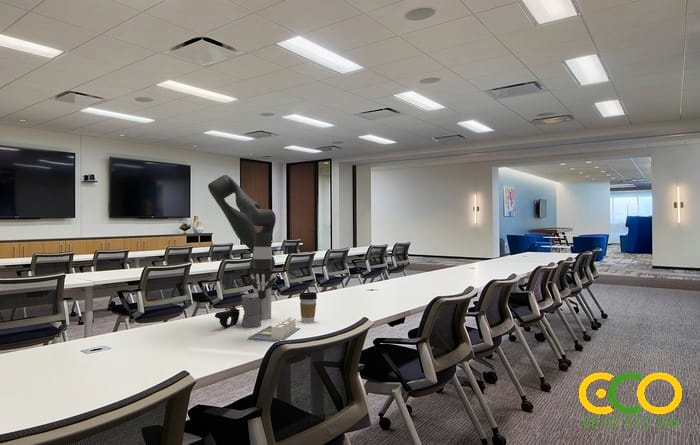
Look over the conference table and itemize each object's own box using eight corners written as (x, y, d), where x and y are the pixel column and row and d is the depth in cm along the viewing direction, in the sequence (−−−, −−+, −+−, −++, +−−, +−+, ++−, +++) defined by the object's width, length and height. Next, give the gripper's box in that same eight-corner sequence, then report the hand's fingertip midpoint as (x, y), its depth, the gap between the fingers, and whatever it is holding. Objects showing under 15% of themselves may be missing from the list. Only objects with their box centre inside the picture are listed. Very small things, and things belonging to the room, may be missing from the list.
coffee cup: (315, 326, 209) (316, 294, 209) (297, 325, 209) (298, 294, 209) (317, 322, 217) (317, 291, 217) (300, 321, 217) (300, 291, 217)
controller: (241, 326, 206) (241, 305, 206) (219, 331, 195) (219, 309, 195) (235, 325, 208) (235, 303, 208) (213, 330, 198) (213, 307, 198)
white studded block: (283, 331, 193) (283, 318, 193) (286, 329, 197) (287, 316, 197) (292, 332, 192) (292, 319, 192) (295, 329, 196) (295, 317, 196)
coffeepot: (261, 331, 196) (261, 291, 196) (239, 332, 195) (239, 291, 195) (263, 323, 212) (263, 286, 212) (242, 324, 210) (243, 286, 210)
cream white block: (277, 335, 186) (277, 321, 186) (281, 332, 190) (281, 319, 190) (286, 335, 186) (286, 322, 186) (290, 333, 189) (290, 320, 189)
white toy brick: (271, 339, 180) (271, 325, 180) (275, 336, 184) (275, 323, 184) (280, 339, 179) (281, 325, 179) (284, 337, 183) (284, 323, 183)
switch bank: (246, 342, 179) (246, 338, 179) (270, 328, 202) (270, 325, 202) (280, 345, 176) (280, 341, 176) (300, 331, 199) (300, 327, 199)
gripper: (243, 257, 181) (243, 300, 181) (274, 258, 178) (273, 301, 178) (251, 256, 188) (251, 296, 189) (281, 257, 185) (280, 298, 186)
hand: (262, 299), depth 183 cm, fingers closed
